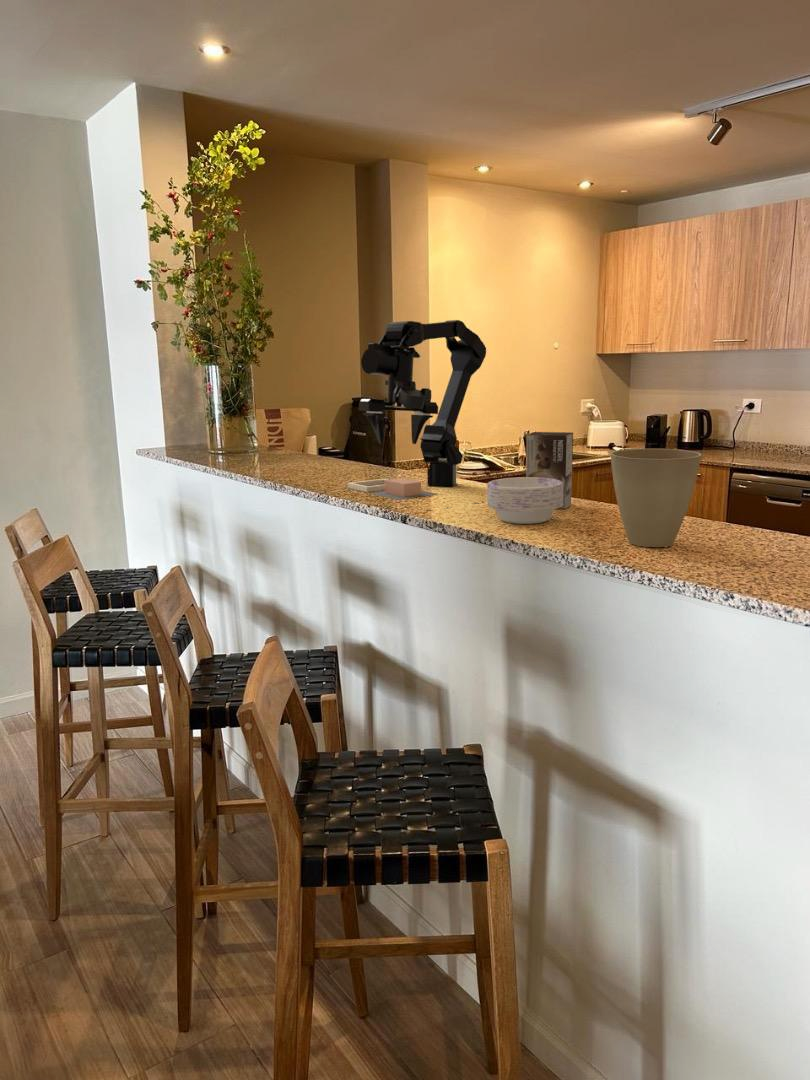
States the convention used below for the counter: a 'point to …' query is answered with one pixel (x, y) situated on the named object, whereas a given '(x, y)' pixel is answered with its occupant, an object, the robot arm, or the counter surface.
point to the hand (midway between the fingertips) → (397, 443)
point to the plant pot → (653, 492)
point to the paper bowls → (525, 499)
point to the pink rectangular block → (403, 487)
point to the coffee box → (551, 459)
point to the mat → (381, 489)
